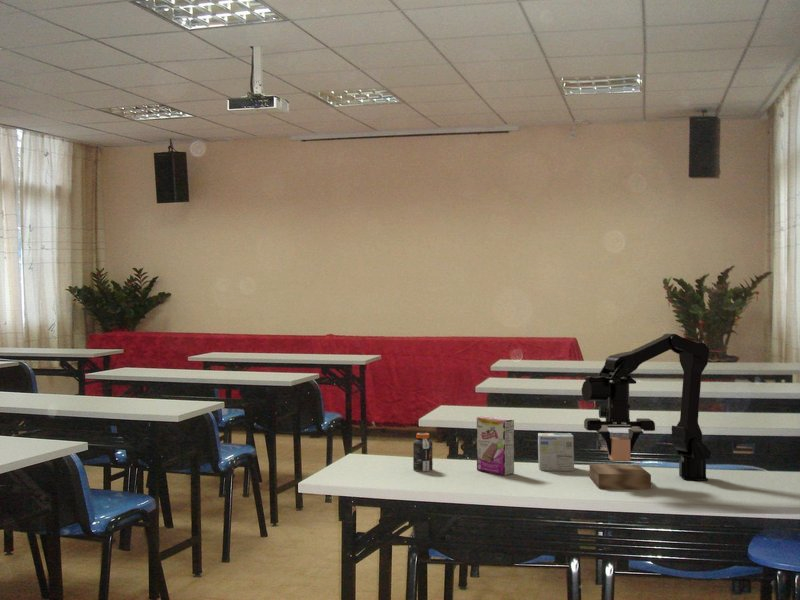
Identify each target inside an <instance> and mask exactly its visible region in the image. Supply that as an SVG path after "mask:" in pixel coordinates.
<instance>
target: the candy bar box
mask: <svg viewBox="0 0 800 600" xmlns="http://www.w3.org/2000/svg"><path fill="white" fill-rule="evenodd" d="M476 471H480V472H484V473H491V474H496V475H500V476H509V475H512V474H515V420H514V419H512V418H504V417H499V416H498V417H496V416H489V415H484V416H477V417H476Z"/></svg>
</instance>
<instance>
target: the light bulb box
mask: <svg viewBox="0 0 800 600" xmlns="http://www.w3.org/2000/svg"><path fill="white" fill-rule="evenodd" d="M574 442H575V441H574V435H573V434H572V433H569V432H567V433H563V432H562V433H561V432H560V433H559V432H548V433H547V432H544V433H541V432H538V433H537V450H538V451H537V452H538V453H537V454H538V455H537V457H538V458H537V459H538V470H539V471H540V470H541V471H551V472H553V471H554V472H555V471H556V472H557V471H558V472H560V471H561V472H564V471H565V472H574V471H575V450H574V449H575V448H574Z"/></svg>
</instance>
